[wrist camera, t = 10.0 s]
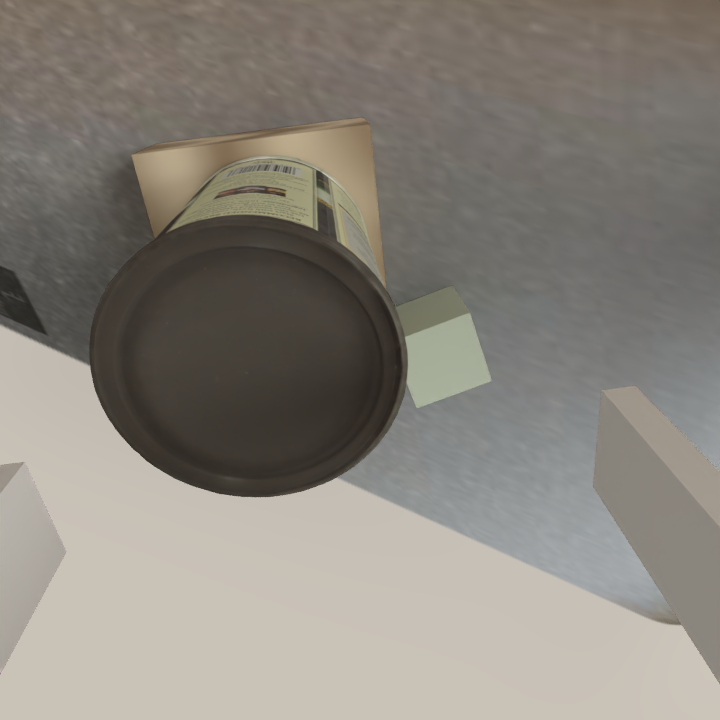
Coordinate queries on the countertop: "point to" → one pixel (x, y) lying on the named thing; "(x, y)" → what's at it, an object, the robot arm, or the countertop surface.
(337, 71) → the countertop surface
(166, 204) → the beech block
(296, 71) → the countertop surface
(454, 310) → the sage block
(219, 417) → the coffee can
